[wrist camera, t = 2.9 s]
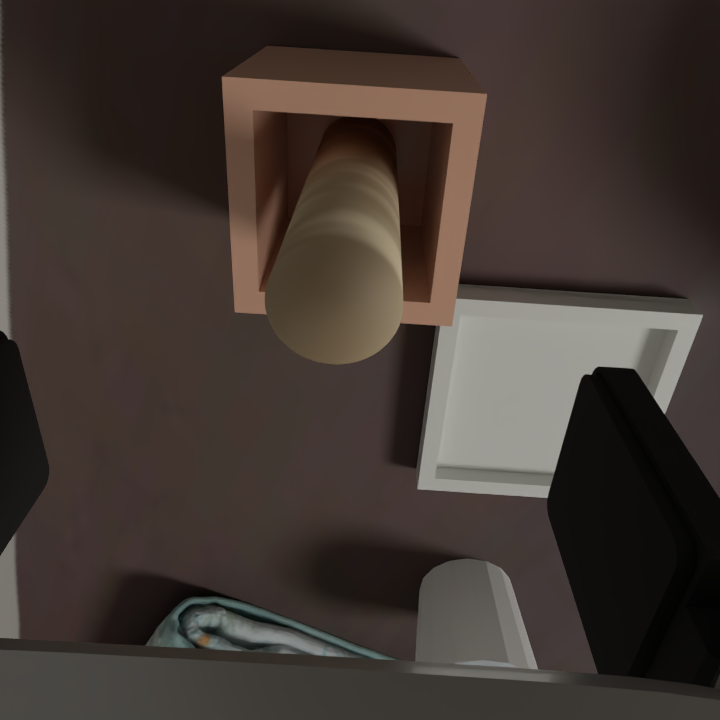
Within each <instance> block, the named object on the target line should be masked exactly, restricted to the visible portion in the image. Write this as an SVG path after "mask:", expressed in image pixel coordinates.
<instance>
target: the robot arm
mask: <svg viewBox="0 0 720 720" xmlns="http://www.w3.org/2000/svg"><path fill="white" fill-rule="evenodd" d="M48 476H49V464H48V460H47V456H46V452H45V449H44V445H43V441H42V437H41V433H40V429H39V425H38V422H37V418H36V414H35V410H34V406H33V402H32V399H31V395H30V391H29V387H28V383H27V379H26V376H25V372H24V368H23V364H22V360H21V356H20V353H19V349H18V346H17V344H16V343H15V342H14V341H13V340H8V338H7V336H6V335H5V334H4V333H3V332H2V331H0V555H1V553H2V552H3V551H4V549H5V548H6V546H7V544H8V543H9V541H10V540H11V538H12V537H13V535H14V534H15V532H16V531H17V529H18V528H19V526H20V524H21V523H22V521H23V520H24V518H25V517H26V515H27V514H28V512H29V511H30V509H31V508H32V506H33V505H34V503H35V501H36V500H37V498H38V497H39V495H40V494H41V492H42V491H43V489H44V488H45V486H46V484H47V480H48ZM547 509H548V516H549V519H550V522H551V526H552V529H553V532H554V535H555V538H556V541H557V545H558V548H559V551H560V554H561V557H562V560H563V564H564V567H565V570H566V573H567V576H568V579H569V583H570V586H571V589H572V592H573V595H574V599H575V602H576V605H577V608H578V611H579V614H580V618H581V621H582V624H583V627H584V630H585V633H586V637H587V640H588V643H589V646H590V649H591V652H592V656H593V659H594V662H595V665H596V668H597V671H598V674H590V673H577V672H564V671H552V670H539V669H526V668H514V667H497V666H481V665H465V664H449V663H433V662H417V661H401V660H384V659H368V658H352V657H336V656H319V655H302V654H284V653H267V652H249V651H232V650H214V649H196V648H178V647H160V646H142V645H124V644H106V643H87V642H67V641H48V640H28V639H9V638H7V639H6V638H0V720H720V498H719V497H718V495H717V494H716V492H715V491H714V489H713V488H712V486H711V484H710V483H709V481H708V480H707V478H706V477H705V475H704V474H703V472H702V471H701V469H700V468H699V466H698V465H697V463H696V461H695V460H694V458H693V457H692V456H691V454H690V453H689V451H688V450H687V448H686V446H685V445H684V443H683V442H682V440H681V439H680V437H679V436H678V434H677V433H676V431H675V430H674V428H673V427H672V425H671V423H670V422H669V420H668V419H667V417H666V416H665V414H664V413H663V411H662V410H661V408H660V407H659V405H658V404H657V402H656V401H655V399H654V397H653V396H652V394H651V393H650V391H649V390H648V388H647V387H646V385H645V384H644V382H643V381H642V379H641V378H640V376H639V374H638V373H637V372H636V371H635V370H634V369H631V368H616V367H600V366H598V367H597V368H595V369H594V371H593V372H592V375H589V374H585V375H583V377H582V378H581V381H580V384H579V387H578V391H577V394H576V398H575V401H574V405H573V408H572V412H571V415H570V419H569V423H568V426H567V430H566V433H565V437H564V440H563V444H562V447H561V451H560V454H559V458H558V461H557V465H556V469H555V472H554V476H553V479H552V483H551V486H550V490H549V494H548V500H547Z"/></svg>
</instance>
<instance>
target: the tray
mask: <svg viewBox="0 0 720 720" xmlns="http://www.w3.org/2000/svg"><path fill="white" fill-rule="evenodd" d="M702 317H703V314H702V313H701V312H700V311H699V310H698V309H697V307H696V306H695V305H694V304H693V303H692V302H691V301H690V300H689V299H680V298H665V297H649V296H634V295H619V294H604V293H589V292H574V291H559V290H544V289H529V288H514V287H499V286H484V285H468V284H458V290H457V297H456V303H455V310H454V317H453V323H452V327H451V326H436V328H435V335H434V343H433V350H432V358H431V365H430V372H429V380H428V387H427V394H426V402H425V409H424V417H423V424H422V431H421V439H420V446H419V453H418V461H417V468H416V473H417V489H423V490H438V491H453V492H468V493H482V494H497V495H512V496H527V497H542V498H548V494H549V490H550V486H551V483H552V479H553V476H554V472H555V469H556V465H557V461H558V458H559V454H560V451H561V447H562V444H563V440H564V437H565V433H566V430H567V426H568V423H569V419H570V415H571V412H572V408H573V405H574V401H575V398H576V394H577V391H578V387H579V384H580V381H581V378H582V377H583V375H585V374H589V375H592V372H593V371H594V369H595V368H597V367H598V366H600V367H616V368H631V369H634V370H635V371H636V372H637V373H638V374H639V376H640V378H641V379H642V381H643V382H644V384H645V385H646V387H647V388H648V390H649V391H650V393H651V394H652V396H653V397H654V399H655V401H656V402H657V404H658V405H659V407H660V408H661V410H662V411H663V413H664V414H665V413H666V410H667V407H668V405H669V402H670V400H671V397H672V394H673V392H674V389H675V387H676V384H677V382H678V379H679V376H680V374H681V371H682V369H683V366H684V364H685V361H686V358H687V356H688V353H689V351H690V348H691V345H692V343H693V340H694V338H695V335H696V333H697V330H698V327H699V325H700V322H701V320H702Z"/></svg>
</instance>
